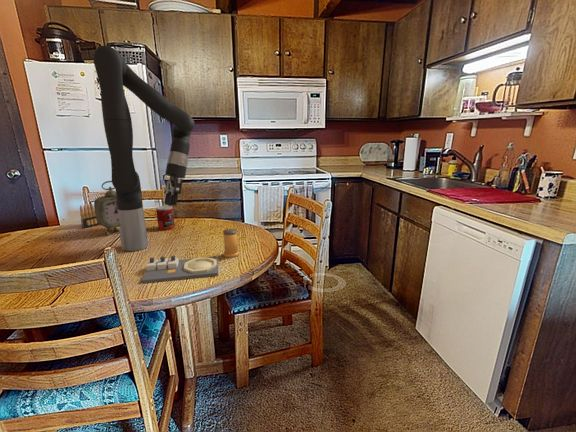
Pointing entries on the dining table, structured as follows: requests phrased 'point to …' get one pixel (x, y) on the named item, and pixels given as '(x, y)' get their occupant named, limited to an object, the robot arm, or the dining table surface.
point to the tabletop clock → (107, 209)
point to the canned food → (165, 217)
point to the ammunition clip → (88, 217)
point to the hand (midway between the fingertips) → (170, 204)
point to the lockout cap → (230, 243)
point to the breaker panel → (179, 269)
